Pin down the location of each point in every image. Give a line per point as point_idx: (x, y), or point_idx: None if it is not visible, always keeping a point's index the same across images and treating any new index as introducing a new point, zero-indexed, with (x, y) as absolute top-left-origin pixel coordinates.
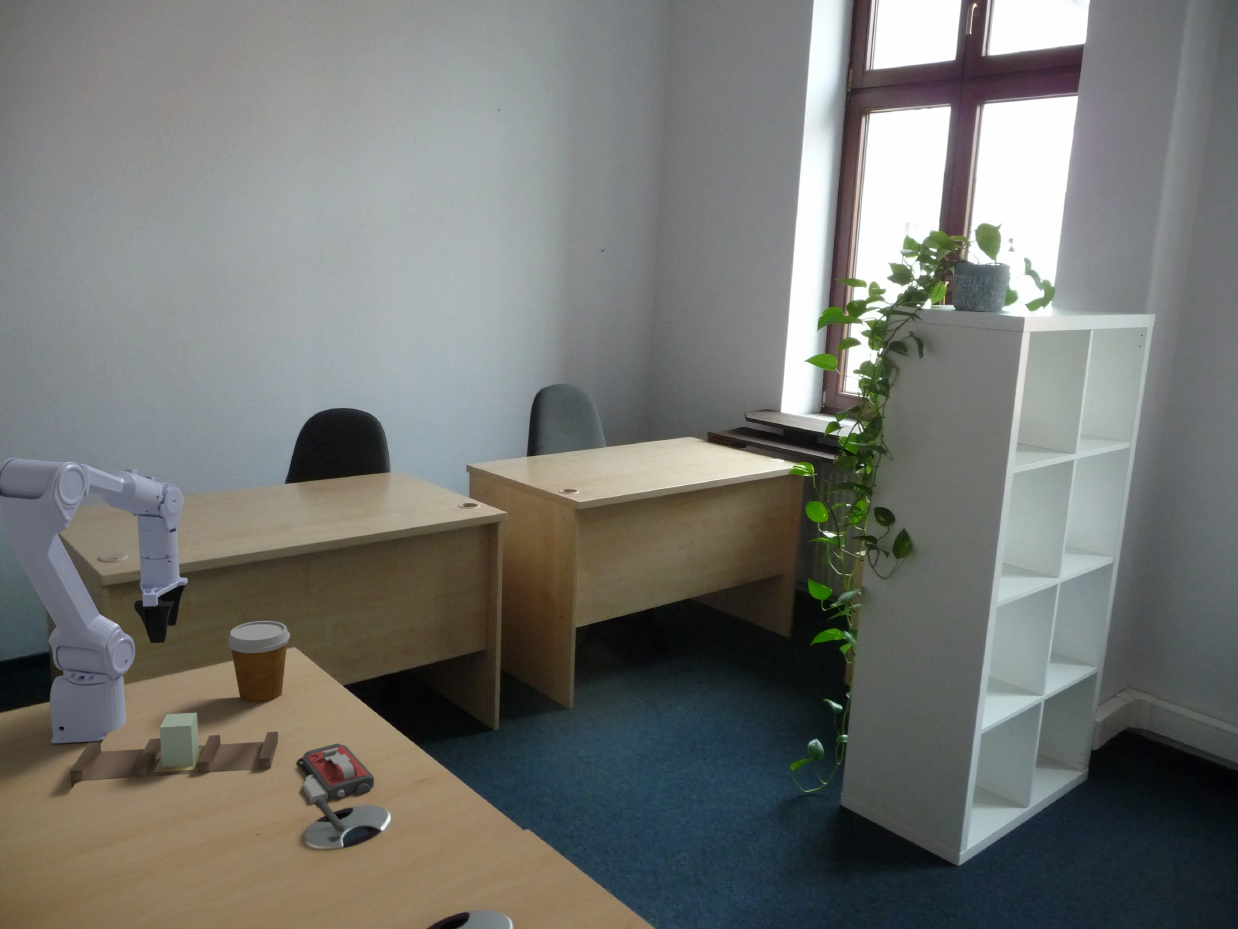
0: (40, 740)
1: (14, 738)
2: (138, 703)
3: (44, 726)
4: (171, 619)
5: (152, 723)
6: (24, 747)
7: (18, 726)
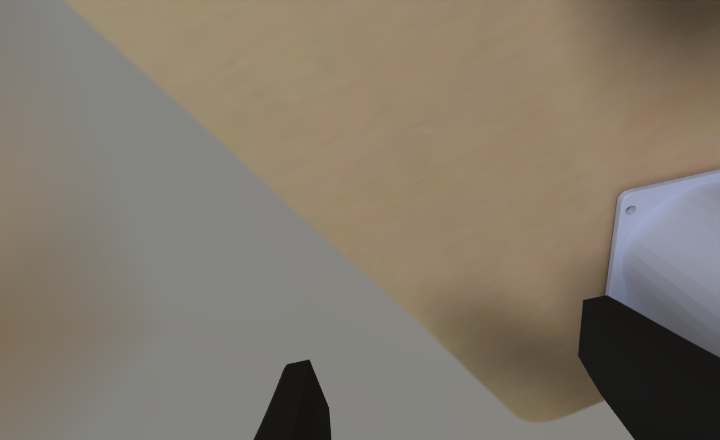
0: None
1: None
2: (515, 226)
3: None
4: (313, 411)
5: (676, 118)
6: None
7: None
